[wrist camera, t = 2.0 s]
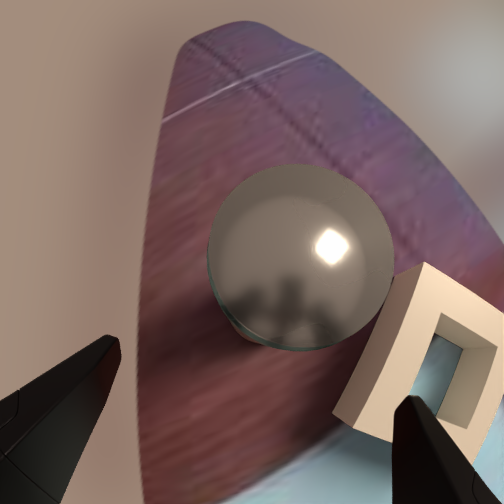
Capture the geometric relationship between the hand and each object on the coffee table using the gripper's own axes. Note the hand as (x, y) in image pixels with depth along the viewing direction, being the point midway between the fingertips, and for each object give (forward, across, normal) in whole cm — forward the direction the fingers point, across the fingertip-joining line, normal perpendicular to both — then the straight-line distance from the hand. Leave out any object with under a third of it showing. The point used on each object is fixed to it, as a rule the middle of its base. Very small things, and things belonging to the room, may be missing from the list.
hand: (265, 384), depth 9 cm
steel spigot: (+10, 0, +5) cm, 11 cm away
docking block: (+8, -12, +7) cm, 16 cm away
